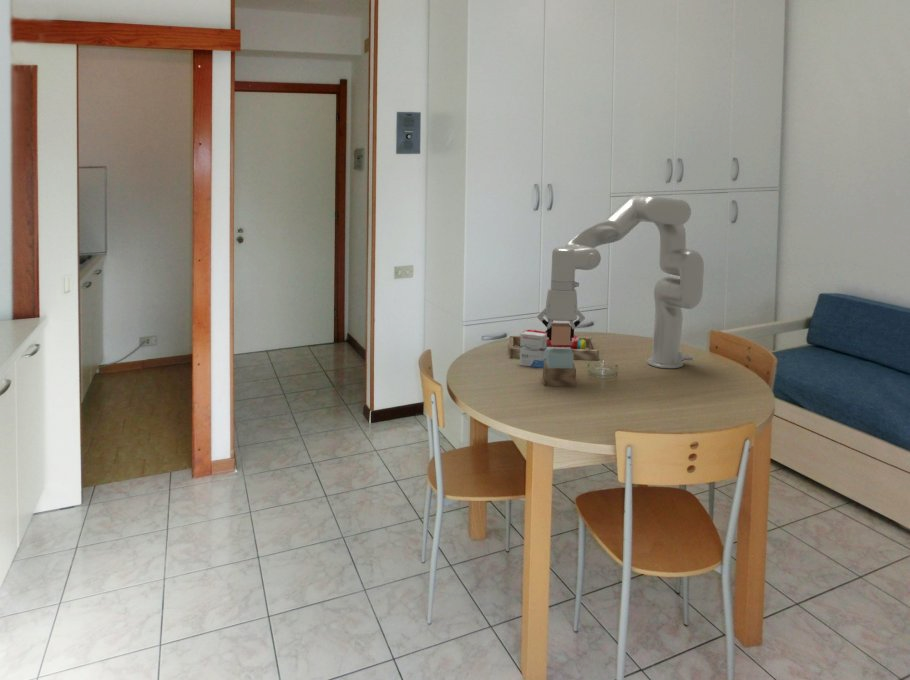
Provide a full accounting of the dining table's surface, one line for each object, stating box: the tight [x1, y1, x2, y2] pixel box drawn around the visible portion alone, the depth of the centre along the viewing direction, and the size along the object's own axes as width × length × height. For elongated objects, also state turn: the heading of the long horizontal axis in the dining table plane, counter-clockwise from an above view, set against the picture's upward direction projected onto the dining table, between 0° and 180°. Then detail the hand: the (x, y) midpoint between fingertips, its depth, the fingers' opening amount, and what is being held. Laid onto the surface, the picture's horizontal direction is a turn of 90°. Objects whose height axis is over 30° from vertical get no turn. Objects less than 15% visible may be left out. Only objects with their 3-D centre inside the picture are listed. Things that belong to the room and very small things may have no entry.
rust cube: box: [550, 322, 571, 345], centre depth 234 cm, size 6×6×6 cm
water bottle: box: [523, 329, 587, 350], centre depth 275 cm, size 12×8×25 cm
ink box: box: [519, 330, 547, 369], centre depth 255 cm, size 8×5×12 cm, turn 65°
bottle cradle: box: [508, 335, 600, 361], centre depth 273 cm, size 33×20×4 cm, turn 86°
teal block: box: [546, 347, 574, 369], centre depth 236 cm, size 8×8×5 cm
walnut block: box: [542, 360, 577, 387], centre depth 237 cm, size 10×10×6 cm
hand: (560, 339), depth 234 cm, fingers closed on rust cube, 6 cm apart
